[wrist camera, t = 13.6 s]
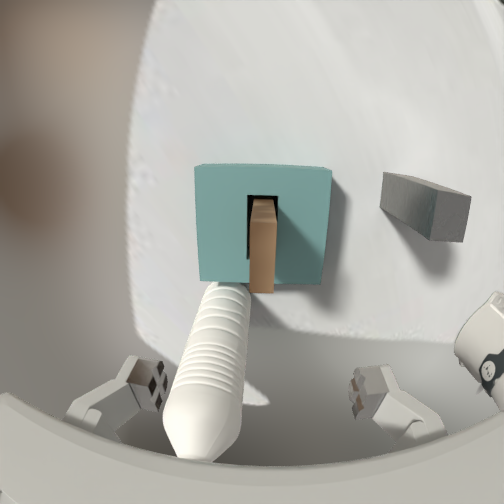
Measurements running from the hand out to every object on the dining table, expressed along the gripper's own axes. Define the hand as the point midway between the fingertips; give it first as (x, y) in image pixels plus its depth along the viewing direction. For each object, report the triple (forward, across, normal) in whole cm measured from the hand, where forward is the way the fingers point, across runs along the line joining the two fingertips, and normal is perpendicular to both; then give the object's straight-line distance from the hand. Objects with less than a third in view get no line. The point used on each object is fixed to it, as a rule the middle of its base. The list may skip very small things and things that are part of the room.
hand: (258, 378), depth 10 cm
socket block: (+24, 0, 0) cm, 24 cm away
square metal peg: (+24, +17, +5) cm, 30 cm away
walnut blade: (+24, 0, 0) cm, 24 cm away
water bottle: (+24, -4, -12) cm, 27 cm away
